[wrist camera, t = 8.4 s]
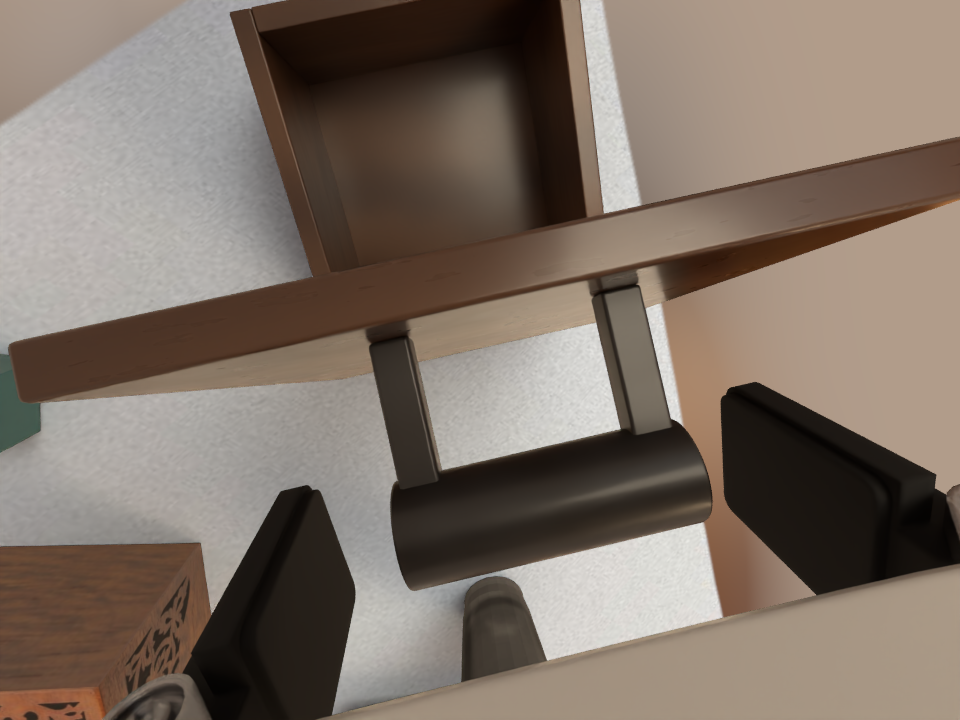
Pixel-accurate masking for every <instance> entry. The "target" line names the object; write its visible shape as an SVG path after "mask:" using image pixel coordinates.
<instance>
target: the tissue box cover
mask: <svg viewBox="0 0 960 720" xmlns="http://www.w3.org/2000/svg"><path fill="white" fill-rule="evenodd" d="M210 617H211V611H210V605H209V598H208V591H207V585H206V578H205V571H204V564H203V558H202V551H201V544H200V543H199V544H198V543H186V544H131V545H76V546H20V547H0V720H102V718H103V717H104V716H105V715H106V714H107V713H108V712H109V711H110V710H111V709H112V708H113V707H114V706H115V705H116V704H117V703H119V702H120V701H121V700H122V699H124V698H125V697H126V696H127V695H129V694H130V693H131V692H133V691H134V690H136V689H137V688H139V687H141V686H142V685H144V684H146V683H147V682H149V681H151V680H154V679H156V678H159V677H161V676H164V675H168V674H174V673H181V674H182V672H183V670H184V669H185V667H186V665H187V663H188V661H189V660H190V658H191V656H192V655H191V652H192V650H193V648H194V646H195V644H196V642H197V641H198V639H199V637H200V635H201V633H202V632H203V630H204V628H205V626H206V624H207V623H208V621H209V619H210Z"/></svg>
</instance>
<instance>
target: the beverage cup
mask: <svg viewBox="0 0 960 720" xmlns="http://www.w3.org/2000/svg"><path fill="white" fill-rule="evenodd" d="M464 604H465V608H464V616H463V636H462V677H461V682H465V681H469V680H473V679H477V678H481V677H485V676H489V675H493V674H497V673H501V672H505V671H509V670H513V669H516V668H520V667H524V666H528V665H532V664H536V663H540V662H544V661H547V659H546V656H545V654H544V651H543V648H542V645H541V642H540V639H539V637H538V634H537V631H536V628H535V625H534V622H533V619H532V617H531V614H530V611H529V608H528V606H527V604H526V602H525V600H524V598H523V594H522V591H521V589H520V587H519V586H518V585H517V584H516V583H515V582H514V581H512V580H510V579H507V578H505V577H497V576H496V577H489V578H485V579H483V580H480V581H478V582H477V583H475V584H474V585H473V586H472V587H471V588H470V589H469V591H468V592H467V593H466V597H465V600H464Z"/></svg>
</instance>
